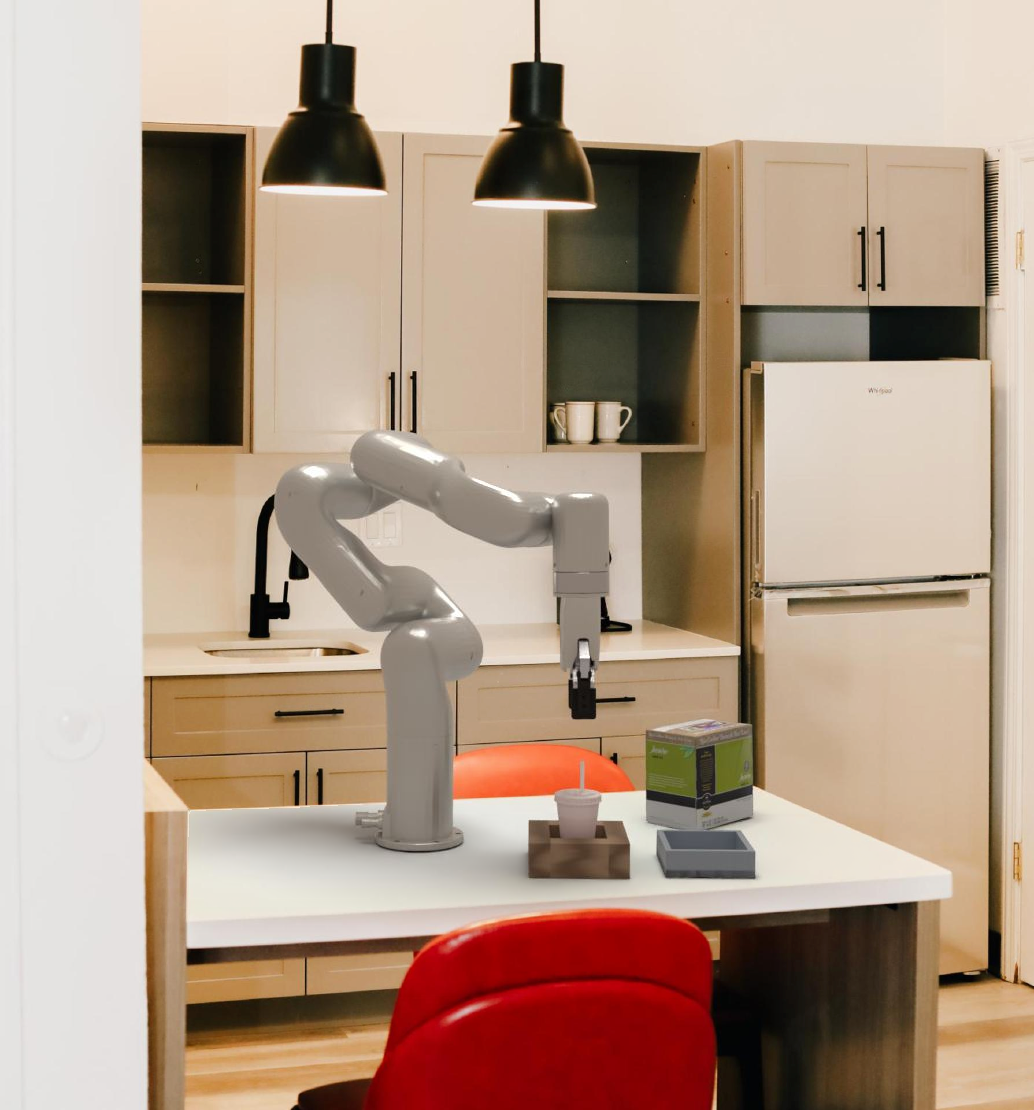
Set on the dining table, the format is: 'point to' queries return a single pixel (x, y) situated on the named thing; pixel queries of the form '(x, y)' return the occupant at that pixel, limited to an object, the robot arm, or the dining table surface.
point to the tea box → (699, 774)
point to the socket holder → (578, 852)
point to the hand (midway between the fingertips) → (581, 713)
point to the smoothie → (578, 810)
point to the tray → (705, 853)
